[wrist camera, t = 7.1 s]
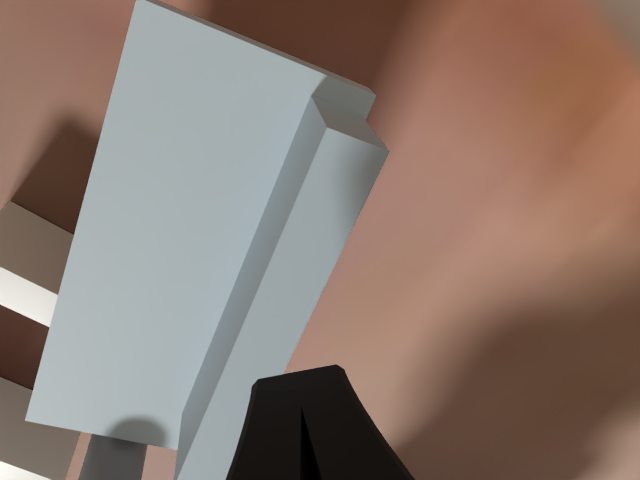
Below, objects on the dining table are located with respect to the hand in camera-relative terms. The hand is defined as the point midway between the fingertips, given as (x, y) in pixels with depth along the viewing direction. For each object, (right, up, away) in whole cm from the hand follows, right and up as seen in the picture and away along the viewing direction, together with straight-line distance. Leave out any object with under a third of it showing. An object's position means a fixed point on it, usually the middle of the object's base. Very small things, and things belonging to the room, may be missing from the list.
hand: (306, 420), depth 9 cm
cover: (-3, +2, +5) cm, 6 cm away
